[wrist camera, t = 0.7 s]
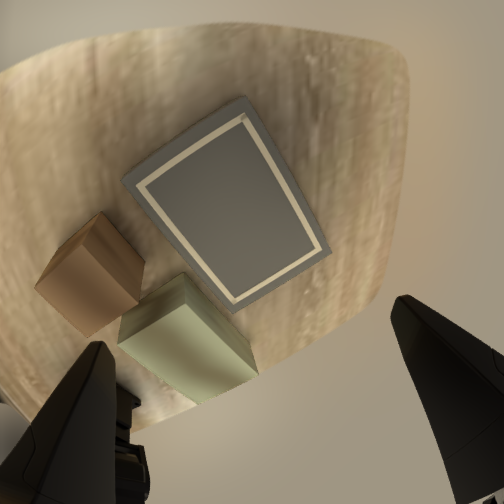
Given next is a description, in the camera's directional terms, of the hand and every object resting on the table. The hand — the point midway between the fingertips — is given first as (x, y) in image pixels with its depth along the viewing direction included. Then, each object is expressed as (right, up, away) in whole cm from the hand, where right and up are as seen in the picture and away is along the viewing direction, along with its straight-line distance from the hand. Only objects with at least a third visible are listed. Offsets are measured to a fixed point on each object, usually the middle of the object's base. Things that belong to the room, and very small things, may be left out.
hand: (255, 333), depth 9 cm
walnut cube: (-11, +2, +12) cm, 17 cm away
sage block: (-6, -4, +17) cm, 19 cm away
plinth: (-1, +5, +13) cm, 14 cm away
